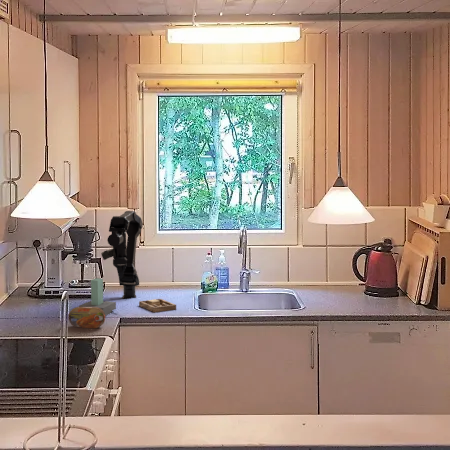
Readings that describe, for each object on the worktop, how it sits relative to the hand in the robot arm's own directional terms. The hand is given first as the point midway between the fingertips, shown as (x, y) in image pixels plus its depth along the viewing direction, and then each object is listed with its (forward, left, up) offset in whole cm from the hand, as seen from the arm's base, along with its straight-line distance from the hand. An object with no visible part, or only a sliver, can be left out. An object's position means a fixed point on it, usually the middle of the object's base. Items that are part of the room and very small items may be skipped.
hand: (120, 277), depth 338 cm
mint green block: (+15, -10, -9) cm, 20 cm away
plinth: (+15, -10, -13) cm, 22 cm away
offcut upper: (+9, +15, -11) cm, 20 cm away
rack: (+12, +17, -13) cm, 24 cm away
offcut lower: (+9, +15, -12) cm, 21 cm away
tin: (+39, -13, -13) cm, 44 cm away
